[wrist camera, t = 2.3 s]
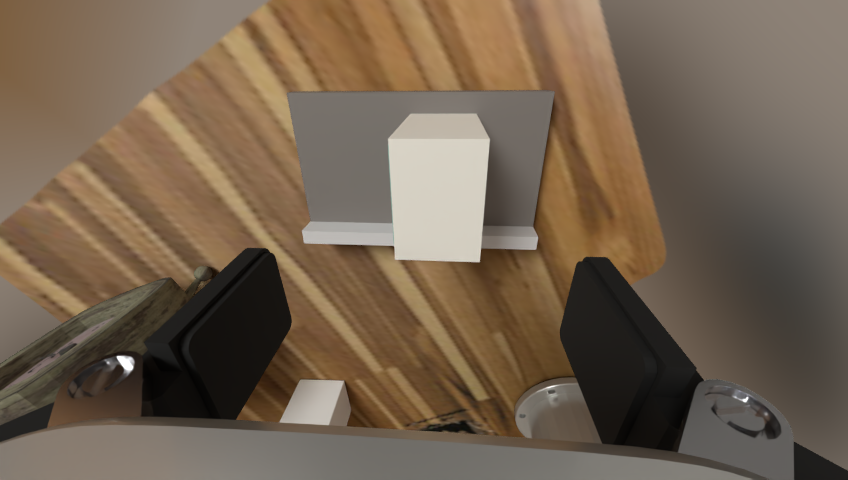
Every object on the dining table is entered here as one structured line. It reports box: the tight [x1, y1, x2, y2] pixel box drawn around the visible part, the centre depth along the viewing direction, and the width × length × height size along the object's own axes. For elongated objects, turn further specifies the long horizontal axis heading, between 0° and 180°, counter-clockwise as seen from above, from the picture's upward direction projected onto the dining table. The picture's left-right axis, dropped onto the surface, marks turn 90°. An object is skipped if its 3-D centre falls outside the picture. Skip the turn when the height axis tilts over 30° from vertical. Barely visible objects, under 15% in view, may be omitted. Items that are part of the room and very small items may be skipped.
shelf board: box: [287, 90, 555, 250], centre depth 27 cm, size 20×12×4 cm, turn 91°
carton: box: [388, 114, 490, 262], centre depth 22 cm, size 7×5×10 cm
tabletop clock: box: [0, 266, 212, 425], centre depth 27 cm, size 14×9×25 cm, turn 113°
